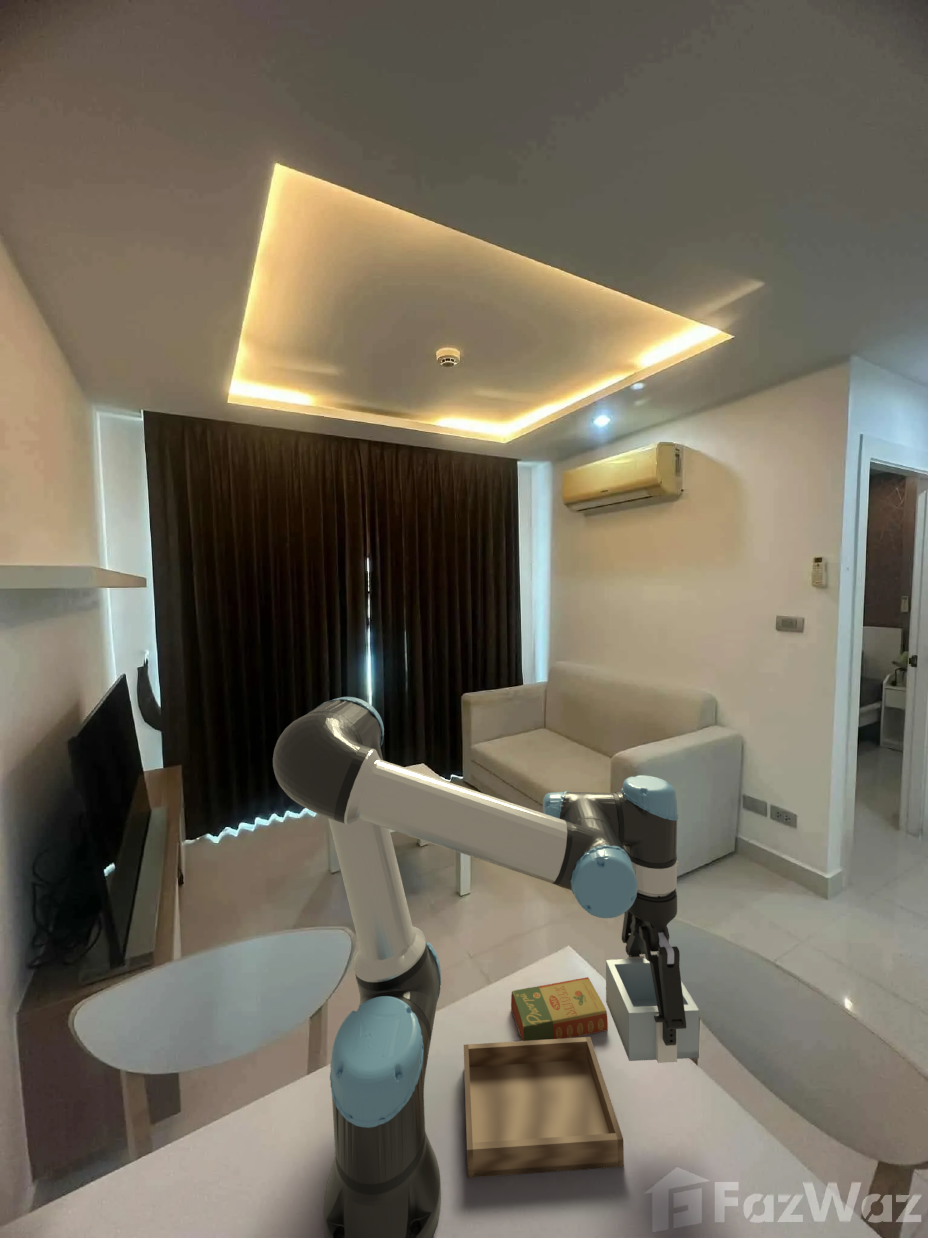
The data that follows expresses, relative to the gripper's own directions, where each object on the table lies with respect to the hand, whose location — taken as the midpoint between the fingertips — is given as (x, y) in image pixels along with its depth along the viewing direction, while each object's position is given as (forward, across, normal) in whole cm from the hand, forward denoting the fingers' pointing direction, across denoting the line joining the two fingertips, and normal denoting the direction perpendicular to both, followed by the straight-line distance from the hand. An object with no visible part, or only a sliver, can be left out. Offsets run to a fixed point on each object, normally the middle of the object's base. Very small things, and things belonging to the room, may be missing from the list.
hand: (650, 1026), depth 73 cm
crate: (+14, +1, +18) cm, 22 cm away
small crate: (0, 0, 0) cm, 0 cm away
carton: (+14, +17, +10) cm, 24 cm away
